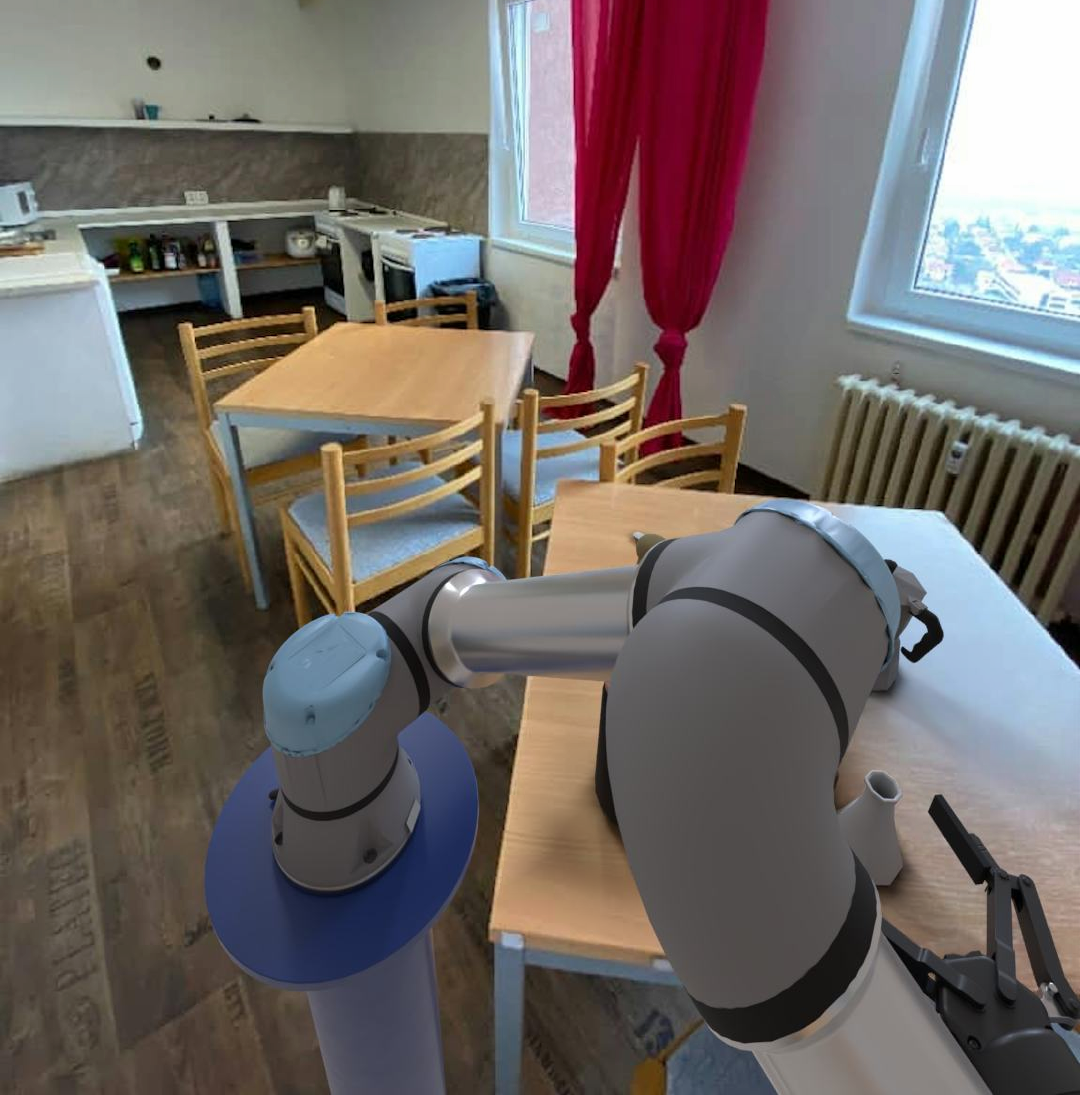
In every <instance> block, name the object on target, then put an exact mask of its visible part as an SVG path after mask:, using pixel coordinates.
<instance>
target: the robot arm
mask: <svg viewBox="0 0 1080 1095" xmlns="http://www.w3.org/2000/svg"><path fill="white" fill-rule="evenodd" d="M900 612H901V609H900V599H899V593H898V590H897V586H896V583H895V580H894V578H893V576H892V573H891V572H890V570H889V568H888V566H887V564H886V562H885V561H884V557H883V556H882V555H881V553H880V552H879V551H878V550H877V548H876V547H875V546H874V545H873V543H872V542H871V541H870V540H869V539H868V538H867V537H866V535H864V534H863V533H862V532H861V531H860V530H858V529H857V528H856V527H854V526H853V525H852V524H850V523H848V522H846V521H844V520H842V519H840V518H839V517H837V516H835V515H834V514H833V512H832V511H830V510H829V509H826V508H824V507H822V506H819V505H817V504H814V503H811V502H807V501H803V500H799V499H792V498H791V499H790V498H777V499H776V498H775V499H771V500H766V501H763V502H760V503H759V504H757V505H755V506H752V507H751V508H748V509H746V510H745V511H743V512H742V513H741V514H739V515H738V517H737V518H736V519H735V522H734V523H733V525H731V526H729V527H727V528H725V529H721V530H718V531H717V530H716V531H712V532H706V533H699V534H692V535H685V536H681V537H676V538H675V537H673V538H668V539H666V540H664V541H661V542H659V543H657V544H656V545H654V546H653V547H652V548H651V549H650V550H649V551H648V552H647V553H646V554H645V555H644V557H643V558H642V560H641V561H640V563H639V564H638V565H636V564H630V565H623V566H614V567H606V568H598V569H590V570H589V569H588V570H582V571H581V570H579V571H571V572H565V573H556V574H547V575H540V576H529V577H523V578H515V579H507V578H506V577H505V575H504V574H503V573H502V572H501V571H500V570H499V569H498V568H496V567H495V566H492V565H491V566H489V565H488V562H487V561H486V560H484V559H482V558H479V557H475V556H460V557H457V558H455V559H452V560H451V561H447V562H445V563H442V564H440V565H439V566H437V567H435V568H434V569H433V570H431V571H430V572H429V573H428V574H427V575H425V576H423V577H422V578H421V579H419V580H417V581H416V582H414V583H413V584H411V585H410V586H408V587H407V588H405V589H403V590H402V591H401V592H399V593H397V594H396V595H394V596H393V597H391V598H390V599H388V600H386V601H385V602H383V603H382V604H379V606H377V607H376V608H373V610H371V611H370V612H368V613H367V614H365V613H363V612H358V611H351V610H349V611H343V612H342V613H341V615H340V616H337V615H336V613H333V612H332V613H329V614H325V615H323V616H321V617H318V618H316V619H314V620H311V621H310V622H308V623H306V624H305V625H303V626H302V627H300V628H299V629H298V630H297V631H294V633H293V634H291V635H290V636H289V637H288V638H287V639H286V640H285V641H284V642H283V644H282V645H280V647H279V648H278V650H277V651H276V653H274V656H273V657H272V659H271V661H270V662H269V665H268V668H267V671H266V675H265V677H264V679H263V683H262V684H263V685H262V703H263V716H262V718H263V727H264V732H265V734H266V737H267V738H268V741H269V742H270V746H271V747H272V752H273V756H274V761H275V765H276V770H277V774H278V779H279V783H280V788H278V789H275V790H273V791H271V792H270V793H269V798H270V799H271V800H273V799H276V798H277V799H276V803H275V807H274V811H273V815H272V824H271V843H272V848H273V852H274V857H275V860H276V863H277V866H278V868H279V870H280V872H281V874H282V875H283V877H284V878H285V879H286V880H287V881H288V882H289V883H290V884H291V885H292V886H293V887H294V888H296V889H298V890H299V891H301V892H304V893H306V894H309V895H312V896H318V897H337V896H342V895H347V894H350V893H353V892H356V891H358V890H361V889H363V888H364V887H366V886H368V885H370V884H372V883H373V882H375V881H376V880H378V879H379V878H380V877H382V876H383V875H384V874H385V873H386V872H387V871H389V870H390V869H391V868H392V867H393V865H394V864H395V863H396V862H397V861H398V860H399V858H400V857H401V856H402V855H403V853H404V852H405V850H406V849H407V847H408V845H409V843H410V842H411V840H412V837H413V835H414V833H415V830H416V828H417V824H418V821H419V816H420V809H421V794H420V783H419V778H418V775H417V772H416V769H415V767H414V764H413V762H412V761H411V759H410V757H409V756H408V755H407V753H406V752H405V751H404V750H403V749H402V748H401V747H400V745H399V742H398V734H399V733H400V732H401V731H402V730H403V729H405V728H406V727H407V726H408V725H409V724H411V723H412V722H413V721H414V720H415V719H416V718H418V717H419V716H420V715H421V714H422V713H424V712H425V711H426V712H427V710H428V709H430V708H431V707H432V706H433V705H434V704H436V703H437V702H438V701H439V700H440V699H442V698H443V697H444V696H445V695H447V694H448V693H449V692H450V691H451V690H453V689H455V688H460V689H467V690H477V689H482V688H487V687H490V686H493V685H494V684H495V683H497V682H499V681H500V680H501V679H502V678H503V677H504V676H506V675H508V676H523V677H533V678H534V677H535V678H549V679H550V678H551V679H562V680H579V681H592V682H603V683H604V682H610V684H609V689H608V697H607V706H606V749H607V763H608V771H609V778H610V784H611V789H612V795H613V801H614V807H615V813H616V817H617V821H618V825H619V828H620V829H619V828H618V829H619V831H620V835H621V839H622V843H623V846H624V851H625V854H626V859H627V862H628V866H629V869H630V872H631V876H632V877H633V881H634V882H635V883H634V884H635V885H636V888H637V891H638V894H639V897H640V899H641V902H642V905H643V908H644V910H645V913H646V916H647V918H648V921H649V924H650V925H651V927H652V930H653V932H654V934H655V936H656V938H657V940H658V942H659V944H660V947H661V949H662V951H663V953H664V955H665V957H666V959H667V961H668V963H669V964H670V966H671V968H672V969H673V971H674V973H675V975H676V976H677V978H678V980H679V981H680V983H681V985H682V986H683V988H684V990H685V992H686V993H687V995H688V997H689V998H690V1000H691V1002H692V1003H693V1005H694V1006H695V1008H696V1010H697V1012H698V1013H699V1014H700V1016H701V1018H702V1019H703V1021H704V1022H705V1024H706V1025H707V1028H709V1030H710V1032H712V1033H713V1035H714V1036H716V1038H718V1039H719V1040H720V1041H722V1042H723V1043H725V1044H726V1045H727V1046H730V1047H732V1048H735V1049H738V1050H741V1051H748V1052H752V1054H753V1056H754V1057H755V1059H756V1061H757V1062H758V1064H759V1066H760V1067H761V1070H763V1072H764V1074H765V1075H766V1077H767V1078H768V1080H769V1082H770V1083H771V1085H772V1087H773V1088H774V1090H775V1092H776V1094H777V1095H1080V1061H1079V1060H1078V1059H1077V1057H1076V1055H1075V1054H1074V1052H1073V1051H1072V1049H1071V1047H1070V1046H1069V1044H1068V1043H1067V1041H1066V1040H1065V1038H1063V1037H1062V1036H1061V1035H1060V1034H1059V1033H1058V1032H1056V1031H1055V1029H1054V1027H1053V1025H1052V1024H1057V1025H1058V1026H1059V1027H1061V1028H1062V1029H1063V1030H1064V1031H1068V1032H1070V1031H1072V1030H1073V1029H1074V1028H1075V1026H1076V1025H1077V1023H1078V1022H1079V1021H1080V1000H1079V998H1078V996H1077V994H1076V993H1075V991H1074V989H1073V988H1072V986H1071V984H1070V983H1069V981H1068V979H1067V978H1066V976H1065V974H1064V969H1063V967H1062V964H1061V961H1060V957H1059V955H1058V951H1057V947H1056V946H1055V941H1054V939H1053V936H1052V933H1051V929H1050V927H1049V924H1048V921H1047V917H1046V914H1045V911H1044V909H1043V904H1042V903H1041V899H1040V896H1039V893H1038V891H1037V890H1038V889H1037V887H1036V884H1035V882H1034V880H1033V879H1032V878H1031V877H1030V876H1029V875H1027V874H1024V873H1020V874H1019V875H1015V874H1011V873H1008V872H1007V871H1006V870H1004V869H1003V868H1001V867H1000V865H999V864H998V863H997V861H996V860H995V859H994V857H993V856H992V854H991V853H990V852H989V850H988V849H987V847H986V845H984V842H983V841H982V840H981V838H980V837H979V836H977V834H975V833H974V832H972V833H971V832H970V833H969V831H968V830H967V829H966V827H965V826H964V825H963V823H962V821H961V820H960V818H959V817H958V815H957V814H956V813H955V811H954V809H953V808H952V807H951V805H950V804H949V802H948V801H947V799H946V798H945V797H944V795H943V794H942V793H939V794H934V795H933V798H932V800H931V803H930V805H929V807H928V810H927V814H928V815H929V816H930V818H931V819H932V821H933V822H934V824H935V826H936V827H937V828H938V830H939V831H940V833H941V835H942V836H943V838H944V839H945V841H946V842H947V844H948V846H949V847H950V848H951V850H952V852H953V853H954V854H955V856H956V857H957V859H958V861H959V862H960V864H961V865H962V867H963V868H964V870H965V872H966V873H967V874H968V876H969V878H970V879H971V880H972V882H973V884H974V885H975V886H977V885H978V886H979V885H984V882H985V883H986V884H987V885H986V886H985V888H984V892H985V893H986V954H983V953H982V952H981V950H980V949H978V950H971V951H969V952H967V953H966V954H964V955H963V954H960V953H959V954H958V953H945V954H944V955H943V957H942V958H941V957H940V956H938V955H937V954H935V952H933V951H932V950H930V949H929V948H926V947H925V948H924V947H921V946H919V945H918V944H917V943H916V942H915V941H913V940H912V939H911V938H909V937H908V936H907V935H906V934H905V933H903V932H902V931H900V930H899V929H898V928H897V927H896V926H895V925H893V924H891V922H890V921H888V920H887V919H886V918H884V917H883V915H882V914H883V913H882V903H881V898H880V894H879V891H878V889H877V885H875V883H874V881H873V879H872V878H871V876H870V875H869V873H868V871H867V870H866V869H865V867H864V866H863V864H862V863H861V861H860V860H859V859H858V857H857V856H856V854H855V853H854V851H853V850H852V848H851V847H850V846H849V844H848V843H847V841H846V839H845V838H844V836H843V833H842V831H841V828H840V826H839V822H838V818H837V814H836V811H837V810H836V806H835V790H834V787H833V786H834V780H835V775H836V772H837V770H838V771H839V768H840V766H841V763H842V761H843V759H844V757H845V754H846V753H847V750H848V748H849V745H850V743H851V741H852V738H853V737H854V734H855V731H856V729H857V727H858V724H859V721H860V719H861V717H862V715H863V712H864V710H865V707H866V705H867V702H868V700H869V699H870V698H869V697H870V696H871V693H872V692H873V691H872V688H873V686H874V683H875V681H876V679H877V676H878V674H879V673H881V672H882V671H884V670H885V669H886V667H887V666H888V664H889V663H890V661H891V659H892V657H893V653H894V641H895V640H894V638H895V635H896V632H897V629H898V626H899V621H900ZM1012 905H1013V906H1012ZM1012 908H1014V912H1015V916H1016V919H1017V922H1018V926H1019V930H1020V933H1021V935H1022V940H1023V943H1024V946H1025V950H1026V954H1027V956H1028V961H1029V965H1030V967H1031V970H1032V974H1033V977H1034V981H1035V984H1036V986H1037V988H1038V989H1037V992H1036V993H1037V995H1036V993H1034V992H1033V991H1032V990H1031V989H1030V988H1028V987H1027V986H1026V985H1025V984H1023V983H1022V982H1021V981H1020V980H1019V979H1017V968H1016V951H1015V950H1014V947H1013V946H1014V943H1013V942H1014V941H1013V938H1014V937H1013V936H1014V935H1013V909H1012ZM929 974H932V975H933V976H934V979H933V978H932V977H931V976H930V975H929ZM930 1000H931V1001H932V1002H933V1003H934V1004H935V1005H934V1006H935V1007H934V1006H933V1005H932V1003H931V1001H930Z"/></svg>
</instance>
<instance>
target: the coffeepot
mask: <svg viewBox="0 0 1080 1095" xmlns="http://www.w3.org/2000/svg"><path fill="white" fill-rule="evenodd" d="M883 559H884V558H883ZM884 561H885V562H886V564H887V566H888V568H889V570H890V572H891V573H892V576H893V578H894V580H895V583H896V586H897V590H898V593H899V599H900V609H901V612H900V621H899V626H898V629H897V632H896V635H895V638H894V640H895V641H894V653H893V657H892V659H891V661H890V663H889V664H888V666H887V667H886V669H885V670H884V671H882V672H881V673H879V674H878V676H877V679H876V681H875V683H874V686H873V688H872V691H871V692H881V691H888V690H889V689H890V687H891V686H892V685H893V683H894V682H895V681H896V680H897V679H898V677H899V667H900V666H899V664H900V663H899V662H900V652H901V654H902V655H903V656H904V658H906V660H907V661H909V662H910V663H912V664H917V663H919V661H921V660H922V659H923V658H924V657H925V656H926V655H928V654H929V653H930V652H931V651H932V650H934V648H936V647H937V646H939V644H941V643H942V642H943V640H944V637H945V632H944V629H943V627H942V624H941V621H940V619H939V616H937V615H936V613H934V612H932V611H931V610H929V609H928V608H929V607H928V606H927V605H926V604H925V603H924V602H922V601H923V600H924V598H925V596H926V595H927V593H928V592H927V591H926V589H925V587H924V586H923V585H922V584H921V582H920V581H919V579H918V578H917V576H916V575H915V573H913V572H911V571H909V570H907V569H906V568H904V567H902V566H899V565H898V563H897V562H896V561H894V560H893V559H889V558H885V559H884ZM912 618H915V619H916V620H918V621H919V622H921V623H922V624H923V625H924V626H925V627H926V631H927V632H925V633H924V634H923V635H922V637H921V638H920V640H919V641H918V642H915V644H913V646H912V650H911V651H910V650H909V649H907V648H906V647H905V646H901V639H900V636H901V635H902V634H903V633H904V631H905V629H906V628H907V627H908V625H909V623H910V621H911V620H912Z"/></svg>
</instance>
